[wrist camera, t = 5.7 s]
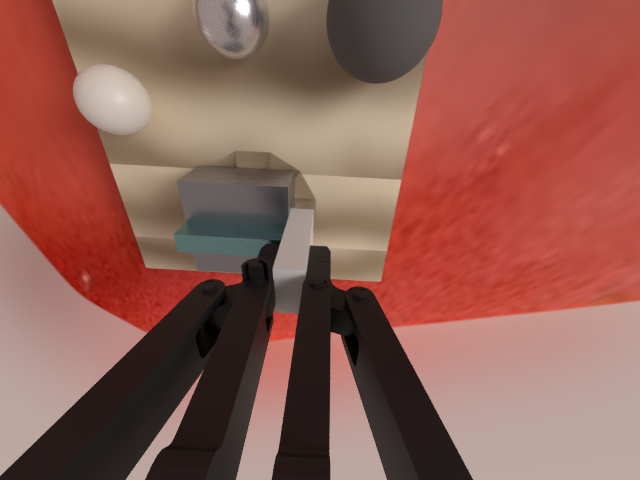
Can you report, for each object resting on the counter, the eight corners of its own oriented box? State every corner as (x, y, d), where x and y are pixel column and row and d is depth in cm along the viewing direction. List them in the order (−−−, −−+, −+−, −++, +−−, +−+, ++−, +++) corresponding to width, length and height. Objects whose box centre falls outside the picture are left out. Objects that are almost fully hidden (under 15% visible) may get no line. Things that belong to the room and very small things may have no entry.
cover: (199, 165, 18) (161, 191, 14) (294, 170, 18) (283, 198, 14) (214, 245, 22) (186, 285, 18) (294, 250, 22) (286, 291, 18)
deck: (54, -103, 14) (5, -134, 12) (441, -86, 14) (460, -114, 12) (161, 251, 26) (146, 267, 23) (376, 264, 25) (380, 281, 23)
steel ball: (204, -25, 14) (168, -53, 11) (274, -22, 14) (257, -49, 11) (214, 59, 16) (186, 55, 13) (276, 62, 15) (263, 59, 12)
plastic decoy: (95, 63, 16) (39, 61, 13) (155, 66, 16) (114, 64, 13) (115, 128, 18) (71, 139, 15) (170, 131, 18) (136, 142, 15)
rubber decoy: (330, -40, 13) (329, -94, 9) (434, -35, 13) (482, -88, 9) (324, 80, 16) (321, 82, 12) (411, 84, 16) (441, 88, 12)
